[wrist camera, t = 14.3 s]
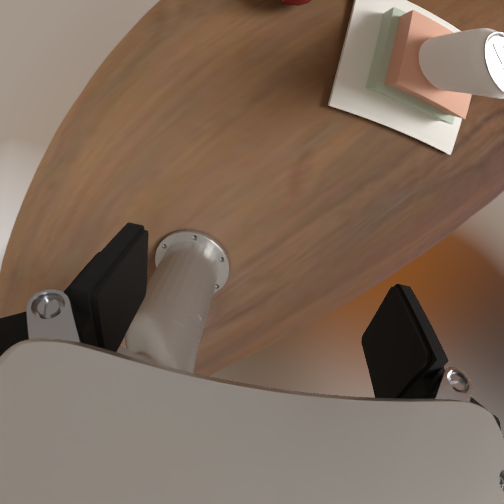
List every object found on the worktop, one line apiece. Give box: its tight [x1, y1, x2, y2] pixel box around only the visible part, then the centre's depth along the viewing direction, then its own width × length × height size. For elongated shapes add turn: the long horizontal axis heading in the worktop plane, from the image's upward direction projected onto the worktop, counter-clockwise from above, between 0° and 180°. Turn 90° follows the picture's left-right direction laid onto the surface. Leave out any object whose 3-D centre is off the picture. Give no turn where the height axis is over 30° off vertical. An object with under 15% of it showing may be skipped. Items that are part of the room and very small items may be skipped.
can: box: [419, 28, 504, 99], centre depth 17 cm, size 6×6×12 cm
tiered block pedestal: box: [328, 0, 472, 155], centre depth 26 cm, size 20×20×9 cm
